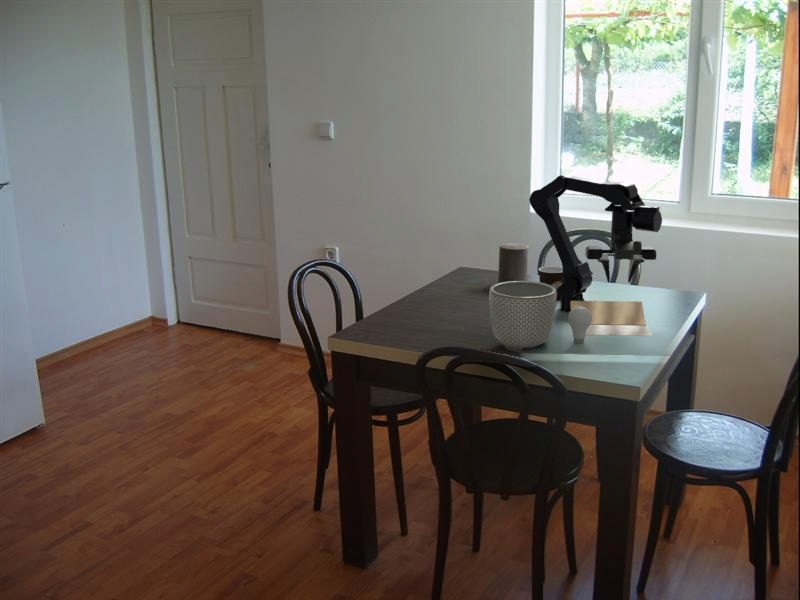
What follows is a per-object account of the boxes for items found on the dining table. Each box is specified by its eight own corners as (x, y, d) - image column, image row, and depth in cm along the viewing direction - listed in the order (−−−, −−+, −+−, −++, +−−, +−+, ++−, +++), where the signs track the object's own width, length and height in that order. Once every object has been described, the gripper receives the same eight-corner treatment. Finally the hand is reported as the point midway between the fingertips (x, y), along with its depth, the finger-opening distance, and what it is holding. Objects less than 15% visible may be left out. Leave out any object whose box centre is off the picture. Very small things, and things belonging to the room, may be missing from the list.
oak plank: (572, 327, 231) (572, 323, 230) (570, 304, 238) (570, 300, 237) (645, 328, 229) (645, 324, 228) (641, 304, 236) (641, 301, 235)
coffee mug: (537, 303, 256) (538, 272, 254) (537, 296, 265) (538, 266, 262) (575, 304, 254) (576, 273, 252) (574, 297, 263) (576, 267, 260)
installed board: (576, 339, 222) (576, 334, 222) (572, 329, 231) (572, 324, 230) (652, 341, 220) (652, 335, 220) (645, 330, 229) (646, 325, 228)
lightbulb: (569, 342, 220) (570, 302, 217) (592, 344, 218) (594, 304, 215) (564, 349, 215) (566, 309, 212) (588, 352, 212) (590, 311, 209)
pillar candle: (499, 289, 274) (500, 245, 269) (497, 281, 283) (498, 239, 279) (528, 289, 273) (530, 245, 269) (525, 282, 283) (527, 239, 278)
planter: (485, 356, 210) (486, 296, 206) (490, 335, 226) (491, 279, 222) (554, 360, 207) (556, 298, 203) (554, 338, 223) (556, 281, 219)
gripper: (591, 233, 222) (588, 289, 226) (662, 233, 220) (658, 290, 224) (586, 225, 232) (583, 279, 237) (654, 226, 231) (650, 280, 235)
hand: (618, 282), depth 233 cm, fingers open, 5 cm apart
